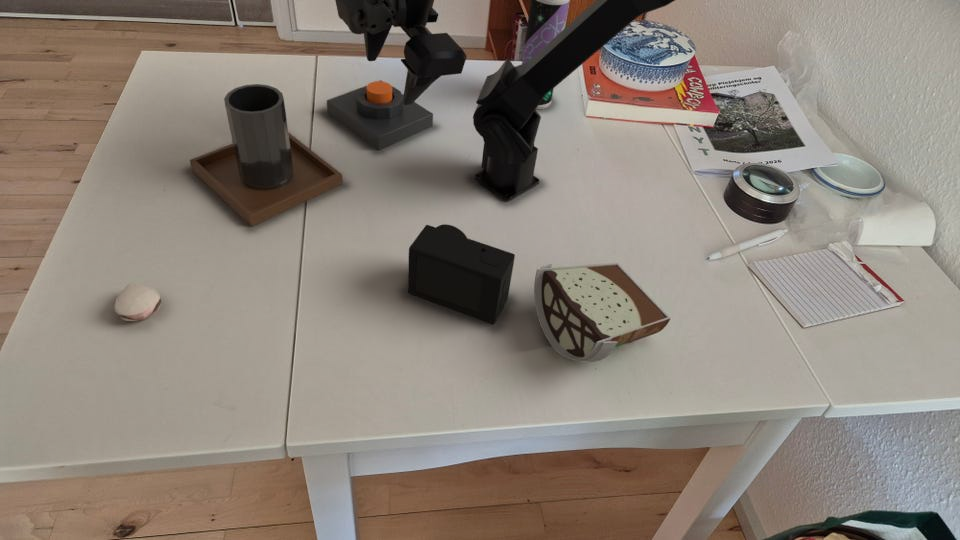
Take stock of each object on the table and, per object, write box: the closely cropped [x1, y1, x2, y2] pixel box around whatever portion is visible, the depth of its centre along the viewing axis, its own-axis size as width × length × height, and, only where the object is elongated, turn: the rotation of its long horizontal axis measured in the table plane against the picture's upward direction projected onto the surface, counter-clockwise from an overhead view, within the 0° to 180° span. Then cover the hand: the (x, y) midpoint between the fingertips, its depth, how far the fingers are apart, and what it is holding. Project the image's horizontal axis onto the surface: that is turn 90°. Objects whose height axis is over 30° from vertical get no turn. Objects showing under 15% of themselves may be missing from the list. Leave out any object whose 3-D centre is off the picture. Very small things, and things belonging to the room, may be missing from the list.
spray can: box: [521, 0, 571, 110], centre depth 99 cm, size 6×6×20 cm
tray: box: [189, 131, 344, 227], centre depth 85 cm, size 14×13×2 cm
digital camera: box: [407, 223, 516, 325], centre depth 72 cm, size 10×5×7 cm, turn 68°
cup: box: [223, 83, 293, 190], centre depth 82 cm, size 7×7×11 cm
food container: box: [533, 262, 672, 363], centre depth 70 cm, size 12×6×10 cm
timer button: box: [366, 80, 393, 104], centre depth 95 cm, size 4×4×2 cm
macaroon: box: [113, 283, 162, 322], centre depth 68 cm, size 4×5×2 cm
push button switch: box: [326, 79, 434, 151], centre depth 96 cm, size 12×10×4 cm
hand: (388, 81), depth 83 cm, fingers open, 9 cm apart
